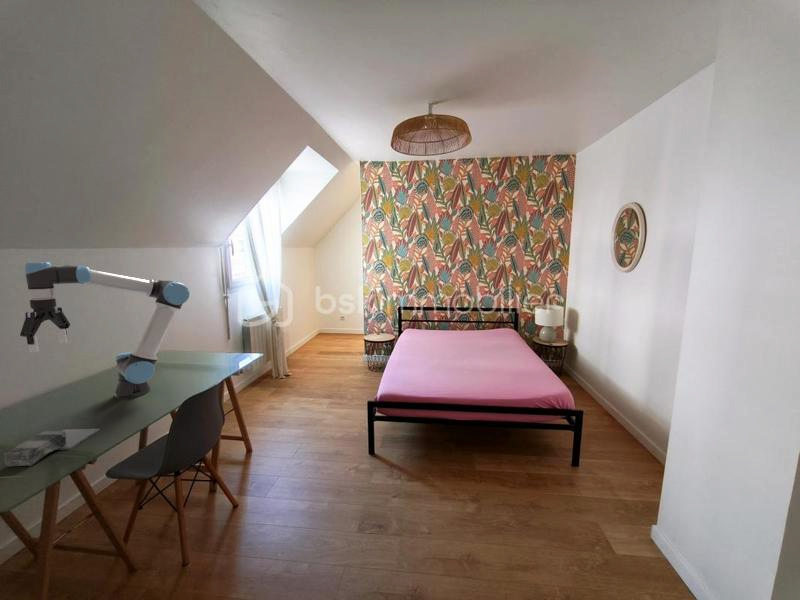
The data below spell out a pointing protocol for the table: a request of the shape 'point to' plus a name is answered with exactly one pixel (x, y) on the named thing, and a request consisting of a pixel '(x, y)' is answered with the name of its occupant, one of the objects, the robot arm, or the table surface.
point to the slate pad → (76, 437)
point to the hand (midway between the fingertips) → (49, 347)
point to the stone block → (35, 448)
